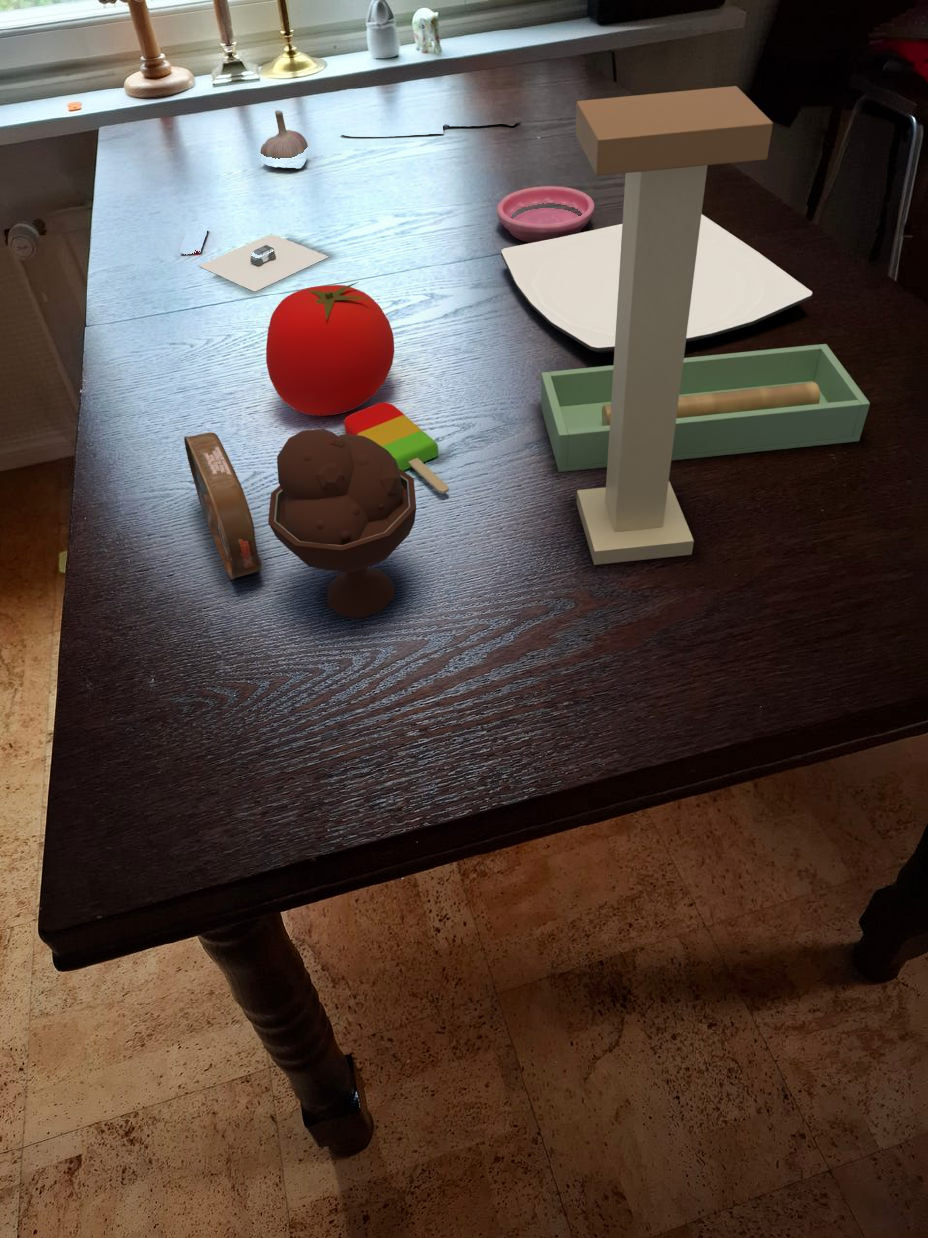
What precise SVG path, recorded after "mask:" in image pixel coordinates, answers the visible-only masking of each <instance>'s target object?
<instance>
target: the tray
mask: <svg viewBox="0 0 928 1238" xmlns="http://www.w3.org/2000/svg"><path fill="white" fill-rule="evenodd" d="M613 367H614V364H613V365H603V366H602V365H601V366H593V367H592V366H591V367H583V368H582V367H581V368H574V369H573V368H572V369H563V370H554V371H552V370H551V371H544V372H543V371H542V372H541V373H540V387H541V388H540V404H541V405H540V409H541V412H542V417H543V420H544V424H545V428H546V431H547V435H548V438H549V443H550V446H551V449H552V453H553V457H554V460H555V464H556V468H557V472H558V473H564V472H574V471H584V470H594V469H602V468H607V462H608V446H609V430H610V425H607V426H603V423H602V408H603V406H604V405H609V404H611V398H612V383H613ZM813 382H814V383H816V384H817V385H818V387H819V390H820V401H819V404H812V405H803V406H793V407H783V408H773V409H764V410H754V411H744V412H734V413H725V414H715V415H705V416H695V417H685V418H676V425H675V434H674V442H673V450H672V458H671V462H672V461H681V460H690V459H700V458H710V457H711V458H712V457H719V456H727V455H730V456H731V455H740V454H747V453H748V454H749V453H756V452H757V453H759V452H769V451H776V450H777V451H778V450H787V449H797V448H807V447H815V446H825V445H835V444H846V443H854V442H860V441H861V436H862V432H863V429H864V426H865V424H866V423H865V422H866V419H867V416H868V412H869V408H870V406H871V402H870V401H869V400H868V398H867V397H866V396H865V395H864V393H863V392H862V390H861V389H860V387H859V386H858V385H857V384H856V382H855V380H853V378H852V376H851V375H850V374H849V372H848V371H847V370H846V368H844V366H843V365H842V363H841V362H840V360H839V359H838V357H837V356H836V355H835V354H834V352H833V350H832V349H831V348H830V347H829V345H828V344H827V343H822V344H809V345H800V346H791V347H780V348H770V349H760V350H759V349H758V350H751V351H741V352H731V353H720V354H711V355H702V356H701V355H699V356H692V357H690V356H689V357H684V360H683V369H682V377H681V385H680V393H679V397H683V396H693V395H702V394H711V393H720V392H730V391H739V390H748V389H757V388H767V387H776V386H785V385H794V384H804V383H813Z"/></svg>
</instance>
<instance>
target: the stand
mask: <svg viewBox="0 0 928 1238" xmlns="http://www.w3.org/2000/svg"><path fill="white" fill-rule="evenodd" d="M773 126H774V122H773V121H772V120H771V119H770V118H769V117H768V116H767V115H766V114H765V113H764V112H763V111H762V110H761V109H759V107H758V106H757V105H756V104H755V103H754V102H753V101H752V100H751V99H750V98H749V97H748V96H747V95H746V94H745V93H744V92H743V91H742V90H741V89H740V88H739V87H738V86H737V85H733V86H721V87H711V88H700V89H691V90H680V91H669V92H659V93H658V92H657V93H647V94H638V95H637V94H636V95H627V96H626V95H625V96H617V97H606V98H605V97H604V98H595V99H585V100H584V99H583V100H577V101H576V105H575V136H576V139H577V140H578V142H579V144H580V146H581V148H582V151H583V153H584V154H585V157H586V158H587V160H588V163H589V164H590V166H591V167H592V169H593V171H594V173H595V175H596V177H600V176H610V175H612V176H613V175H619V174H620V175H621V174H625V176H624V177H625V178H624V195H623V209H622V210H623V211H622V223H621V224H622V240H621V255H620V271H619V287H618V303H617V319H616V335H615V351H614V352H613V353H614V354H613V365H614V367H613V383H612V398H611V414H610V430H609V446H608V462H607V467H606V480H605V487H596V488H585V489H577V490H576V506H577V507H576V508H577V510H578V513H579V518H580V521H581V524H582V528H583V531H584V535H585V538H586V542H587V545H588V549H589V553H590V556H591V559H592V563H593V565H594V566H597V565H607V564H615V563H624V562H625V563H626V562H635V561H643V560H653V559H662V558H670V557H671V558H673V557H682V556H692V555H693V549H694V543H695V540H694V537H693V535H692V533H691V530H690V528H689V525H688V523H687V520H686V518H685V515H684V513H683V511H682V509H681V506H680V504H679V501H678V499H677V495H676V494H675V491H674V489H673V486H672V484H671V482H670V473H671V466H672V461H671V458H672V450H673V442H674V434H675V425H676V417H677V409H678V401H679V393H680V385H681V377H682V369H683V360H684V358H685V352H686V336H687V328H688V320H689V312H690V304H691V295H692V287H693V279H694V271H695V263H696V255H697V247H698V239H699V230H700V222H701V214H702V215H703V205H704V196H705V190H706V181H707V174H708V173H707V172H708V166H715V165H724V164H735V163H736V164H737V163H745V162H755V161H765V160H768V155H769V151H770V150H769V149H770V143H771V137H772V131H773Z"/></svg>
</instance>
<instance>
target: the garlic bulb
mask: <svg viewBox="0 0 928 1238" xmlns="http://www.w3.org/2000/svg"><path fill="white" fill-rule="evenodd" d="M274 114H275V119H276V125H277V128H278V129H277V130H278V133H277V134H276V135H274V136H271V137H269V138H267V140H266V141H265V142H264V143H263V144H262V146H261V148H260V153H261V154H263V155H264V156H266V157H272V158H275V159H276V158H278V159H280V158H292V157H295V156H297V155H298V154H301V153H303V152H304V150H305V149H306V148H307V147H308V148H309V143H308V142H307V139H306V138H305V137H304V135H303V134H301V133H300V132H298V131H296V130H291V129H287V128H286V123H285V118H284V113H283V111H282V110H279V109H278V110H275V111H274Z"/></svg>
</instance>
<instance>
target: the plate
mask: <svg viewBox="0 0 928 1238" xmlns="http://www.w3.org/2000/svg"><path fill="white" fill-rule="evenodd" d="M622 224H623V223H620V224H616V225H611V226H605V227H601V228H596V229H593V230H588V231H583V232H579V233H578V234H573V235H569V236H564V237H559V238H554V239H549V240H544V241H539V242H534V243H531V242H528V243H524V244H520V245H514V246H508V247H504V248H502V249H501V250H500V256H501V257H502V260H503V262H504V264H505V266H506V268H507V271H508V272H509V274H510V276H511V278H512V280H513V283H514V284H515V286H516V287H515V288H517V290H518V291H519V292H520V293H521V295H522V296H523V298H524V299H525V300H526V301H527V303H528V304H529V305H530V307H532V309H534V310H535V311H536V312H537V314H539V315H540V316H541V317H542V318H543V319H544V320H545V321H546V322H547V323H548V324H550V325H551V326H552V327H553V328H555V329H556V330H557V331H559V332H561V333H562V334H564V335H566V336H568V337H569V338H570V339H573V340H574V341H575V342H577V343H579V344H580V345H582V346H583V347H585V348H587V349H588V350H590V351H592V352H594V353H600V354H606V353H607V354H608V353H614V351H615V335H616V319H617V303H618V287H619V271H620V255H621V240H622ZM812 297H813V291H812V290H810V289H809V288H808V287H806V286H805V285H804V284H802V283H801V282H800V281H799V280H797V279H795V278H794V277H793V276H791V275H790V274H789V273H787V272H786V271H785V270H783V269H782V268H780V267H779V266H777V264H775V263H774V262H772V261H771V260H770V259H769V258H767V257H766V256H764V255H763V254H761V253H760V252H759V251H758V250H755V249H754V248H753V247H751V246H750V245H748V244H747V243H745V242H744V241H743V240H741V239H740V238H738V237H736V236H735V235H733V234H732V233H730V232H729V231H728V230H727V229H725V228H723V227H721V226H720V225H719V224H717V223H716V222H714V221H713V220H711V218H708V217H707V216H706V215H704V214H703V213H702V214H701V222H700V230H699V239H698V247H697V255H696V263H695V271H694V279H693V287H692V295H691V304H690V312H689V320H688V328H687V336H686V343H691V342H696V341H699V340H705V339H709V338H713V337H716V336H720V335H723V334H728V333H730V332H734V331H738V330H741V329H745V328H747V327H750V326H753V325H755V324H757V323H759V322H762V321H764V320H767V319H769V318H771V317H773V316H775V315H777V314H779V313H782V312H784V311H786V310H788V309H791V308H794V307H795V306H798V305H801V304H802V303H804V302H806V301H809V300H811V299H812Z"/></svg>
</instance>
